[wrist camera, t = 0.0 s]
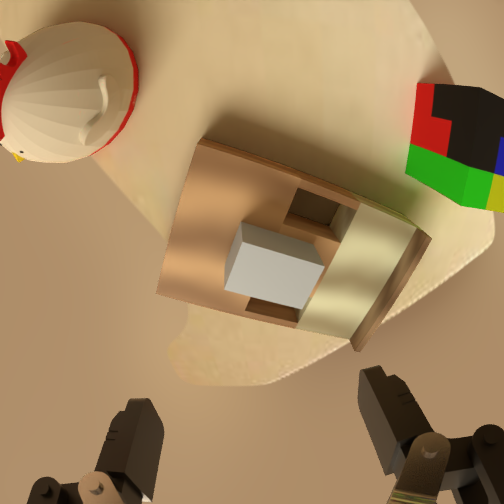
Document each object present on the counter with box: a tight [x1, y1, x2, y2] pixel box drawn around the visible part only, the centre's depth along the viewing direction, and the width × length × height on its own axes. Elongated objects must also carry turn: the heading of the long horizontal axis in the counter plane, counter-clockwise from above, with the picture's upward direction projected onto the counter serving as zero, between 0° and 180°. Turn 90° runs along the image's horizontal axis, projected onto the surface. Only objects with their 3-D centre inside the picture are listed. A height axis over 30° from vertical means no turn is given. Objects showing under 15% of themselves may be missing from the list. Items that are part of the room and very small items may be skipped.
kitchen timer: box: [0, 21, 138, 163], centre depth 17 cm, size 14×14×15 cm
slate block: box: [224, 222, 325, 309], centre depth 27 cm, size 4×7×4 cm, turn 70°
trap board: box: [156, 138, 432, 352], centre depth 30 cm, size 15×23×6 cm, turn 70°
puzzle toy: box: [405, 83, 504, 213], centre depth 24 cm, size 10×10×10 cm
